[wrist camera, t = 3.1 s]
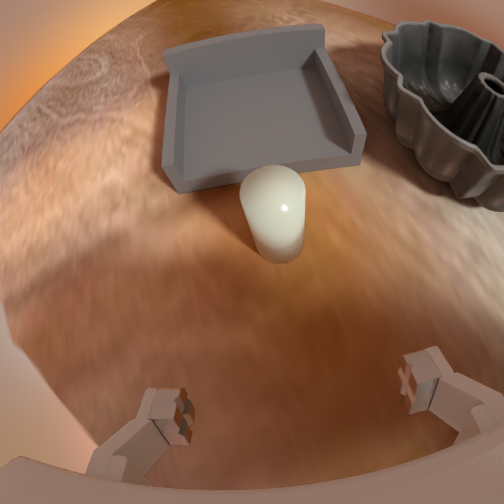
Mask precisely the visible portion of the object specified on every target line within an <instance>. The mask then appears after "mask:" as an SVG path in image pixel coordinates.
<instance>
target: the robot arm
mask: <svg viewBox="0 0 504 504" xmlns="http://www.w3.org/2000/svg"><path fill="white" fill-rule="evenodd" d="M399 365H400V369H399V370H398V371H397V385H398V389H399V391H400V394H402V395H404V396H405V399H404V404H405V406H406V408H407V411H408V413H409V414H413V413H417V412H420V411H423V410H427V409H429V411H431V412H432V413H433V414H435V415H436V416H438V417H439V418H440V419H442V420H443V421H444V422H446V423H447V424H448V425H450V426H451V427H452V428H454V429H455V430H457V431H458V432H459V434H458V436H457V438H456V440H455V441H454V443H453V445H452V446H450V447H448V448H445V449H443V450H440V451H438V452H435V453H432V454H429V455H427V456H424V457H421V458H418V459H415V460H412V461H409V462H405V463H402V464H399V465H395V466H392V467H388V468H385V469H381V470H377V471H373V472H369V473H365V474H361V475H356V476H351V477H347V478H342V479H336V480H331V481H325V482H319V483H312V484H305V485H297V486H288V487H278V488H265V489H247V490H196V489H178V488H166V487H156V486H154V485H153V484H152V483H151V482H150V481H149V480H148V479H147V478H146V477H145V475H146V474H147V473H148V472H149V470H150V469H151V468H152V467H153V466H154V465H155V463H156V462H157V461H158V460H159V459H160V458H161V456H162V455H163V454H164V453H165V452H166V451H167V449H168V448H169V447H170V446H169V445H190V442H191V436H192V431H191V429H190V426H191V425H192V424H193V423H194V419H195V411H194V407H193V404H192V402H191V401H190V400H189V399H187V392H186V390H185V388H147V389H146V390H145V393H144V395H143V398H142V401H141V404H140V407H139V410H138V413H137V416H136V419H131V420H130V421H129V422H128V423H127V424H125V425H124V426H123V427H122V428H121V429H119V430H118V431H117V432H116V433H115V434H113V435H112V436H111V437H110V438H109V439H107V440H106V441H105V442H104V443H103V444H101V445H100V446H99V447H98V448H96V449H95V450H94V452H93V454H92V457H91V460H90V462H89V465H88V468H87V471H86V474H81V473H77V472H73V471H69V470H66V469H62V468H59V467H55V466H52V465H48V464H45V463H42V462H39V461H36V460H33V459H30V458H27V457H23V456H19V457H17V458H15V459H13V460H11V461H10V462H9V463H7V464H6V465H4V466H3V467H2V468H0V504H504V396H503V395H502V393H499V392H497V391H495V390H493V389H491V388H489V387H487V386H485V385H483V384H481V383H479V382H477V381H475V380H473V379H471V378H469V377H467V376H465V375H463V374H461V373H459V372H456V373H454V372H453V370H452V368H451V367H450V365H449V364H448V362H447V360H446V359H445V357H444V356H443V354H442V353H441V351H440V349H439V348H438V347H437V346H433V347H429V348H426V349H422V350H419V351H415V352H412V353H408V354H405V355H401V356H400V358H399Z"/></svg>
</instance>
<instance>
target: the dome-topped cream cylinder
mask: <svg viewBox="0 0 504 504" xmlns="http://www.w3.org/2000/svg"><path fill="white" fill-rule="evenodd" d="M240 201H241V204H242V206H243V209H244V212H245V215H246V218H247V221H248V224H249V227H250V230H251V233H252V236H253V239H254V242H255V245H256V248H257V250H258V252H259V254H260V255H261V256H262V257H263V258H264V259H265V260H267V261H268V262H271V263H275V264H284V263H288V262H290V261H292V260H294V259H295V258H296V257H298V255H299V254H300V253H301V251H302V249H303V246H304V230H305V185H304V182H303V180H302V179H301V177H300V176H299V175H298V174H297V173H296V172H295V171H293V170H292V169H290V168H288V167H285V166H281V165H267V166H263V167H260V168H258V169H256V170H254V171H252V172H251V173H250V174H249V175H248V176H247V177H246V178H245V179H244V181H243V182H242V185H241V188H240Z"/></svg>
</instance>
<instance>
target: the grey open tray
mask: <svg viewBox="0 0 504 504" xmlns="http://www.w3.org/2000/svg"><path fill="white" fill-rule="evenodd" d="M163 59H164V61H165V63H166V66H167V68H168V71H169V73H170V79H169V87H168V95H167V104H166V114H165V124H164V136H163V148H162V163H161V167H162V169H163V170H164V172H165V174H166V175H167V177H168V178H169V180H170V181H171V183H172V184H173V186H174V188H175V189H176V191H177V192H178V194H182V193H187V192H192V191H197V190H202V189H207V188H212V187H218V186H223V185H229V184H234V183H240V182H243V181H244V179H245V178H246V177H247V176H248V175H249V174H250V173H251V172H252V171H254V170H256V169H258V168H260V167H263V166H267V165H281V166H285V167H288V168H290V169H292V170H293V171H295V172H296V173H303V172H310V171H317V170H325V169H332V168H341V167H349V166H358V165H360V162H361V158H362V154H363V149H364V145H365V141H366V136H367V132H366V130H365V128H364V125H363V123H362V121H361V119H360V117H359V114H358V112H357V110H356V108H355V106H354V104H353V102H352V100H351V97H350V95H349V93H348V91H347V89H346V87H345V85H344V83H343V81H342V80H341V78H340V76H339V74H338V72H337V70H336V68H335V66H334V64H333V63H332V61H331V59H330V57H329V55H328V54H327V52H326V50H325V29H324V27H323V26H322V24H304V25H292V26H282V27H274V28H266V29H258V30H252V31H246V32H240V33H234V34H229V35H224V36H219V37H214V38H209V39H205V40H200V41H196V42H192V43H188V44H184V45H181V46H177V47H173V48H170V49H166V50H164V51H163Z"/></svg>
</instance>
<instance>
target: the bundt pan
mask: <svg viewBox="0 0 504 504" xmlns="http://www.w3.org/2000/svg"><path fill="white" fill-rule="evenodd" d="M382 39H383V41H384V42H385V43H384V44H383V46H382V47H381V51H380V59H381V62H382V64H383V66H384V103H385V107H386V110H387V112H388V114H389V116H390V118H391V119H392V121H393V122H394V123H395V124H396V129H395V132H396V137H397V139H398V141H399V142H400V143H401V144H402V145H403V146H405V147H407V148H410V149H413V150H414V153H415V156H416V158H417V161H418V162H419V164H420V166H421V167H422V168H423V169H424V170H425V171H426V172H427V173H428V174H429V175H431V176H432V177H434V178H436V179H438V180H441V181H447V182H449V184H450V186H451V188H452V190H453V192H454V194H455V196H456V197H457V198H459V199H464V198H472V197H473V198H474V199H475V200H476V201H477V202H478V203H479V204H480V205H481V206H483V207H485V208H486V209H489V210H492V211H497V212H503V211H504V51H503V50H502V49H501V48H500V47H498V46H497V45H496V44H495V43H493V42H492V41H490V40H486V39H483V38H481V37H479V36H477V35H475V34H474V33H472V32H470V31H468V30H465V29H463V28H460V27H457V26H453V25H447V24H439V23H436V22H434V21H430V20H425V21H423V22H415V21H405V22H400V23H398V24H396V25H395V27H394V30H393V31H385V32H383V33H382Z"/></svg>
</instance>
